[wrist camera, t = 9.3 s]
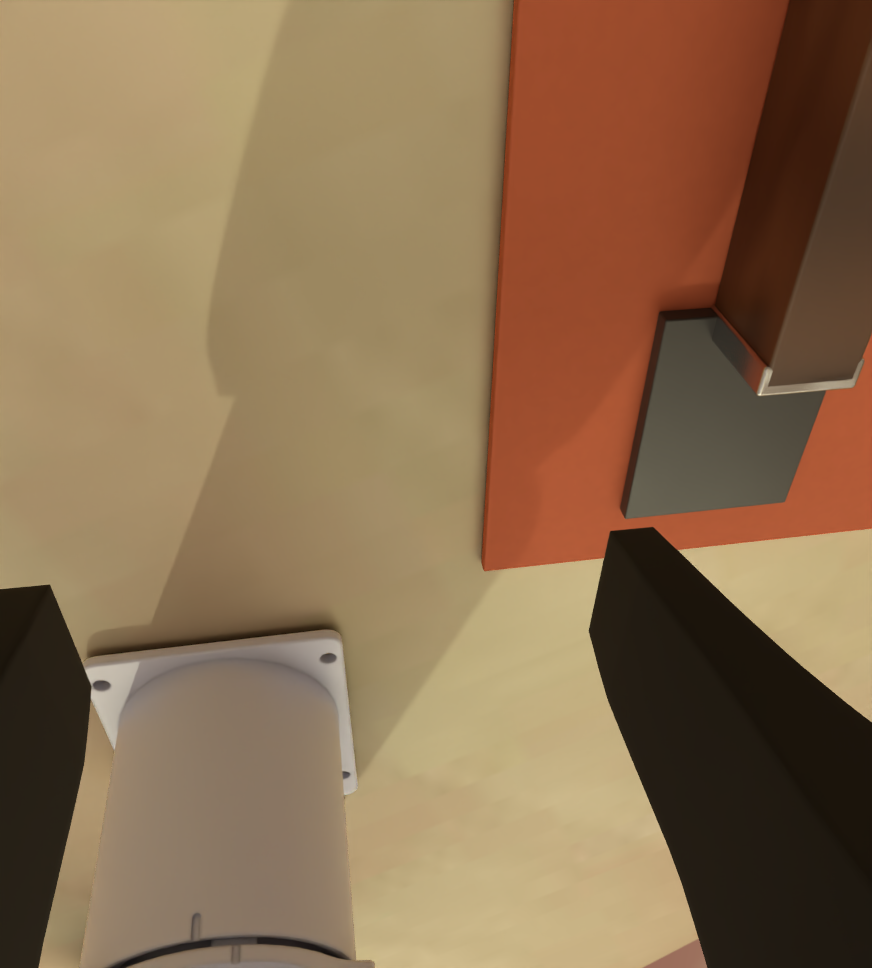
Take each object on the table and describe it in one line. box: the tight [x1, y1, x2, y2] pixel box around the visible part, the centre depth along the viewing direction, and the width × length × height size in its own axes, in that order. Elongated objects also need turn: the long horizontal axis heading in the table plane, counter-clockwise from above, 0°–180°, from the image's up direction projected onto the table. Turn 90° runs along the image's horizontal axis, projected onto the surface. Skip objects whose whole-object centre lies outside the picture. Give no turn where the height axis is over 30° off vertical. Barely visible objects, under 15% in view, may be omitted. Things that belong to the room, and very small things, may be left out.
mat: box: [482, 0, 872, 571], centre depth 19 cm, size 20×13×1 cm, turn 0°
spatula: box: [620, 0, 872, 519], centre depth 18 cm, size 15×5×3 cm, turn 0°
